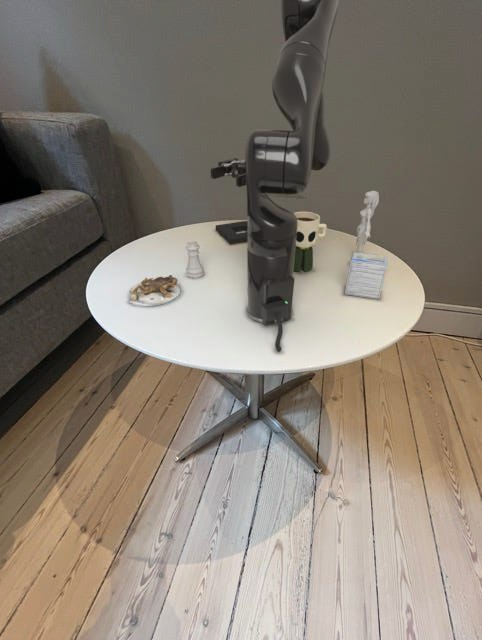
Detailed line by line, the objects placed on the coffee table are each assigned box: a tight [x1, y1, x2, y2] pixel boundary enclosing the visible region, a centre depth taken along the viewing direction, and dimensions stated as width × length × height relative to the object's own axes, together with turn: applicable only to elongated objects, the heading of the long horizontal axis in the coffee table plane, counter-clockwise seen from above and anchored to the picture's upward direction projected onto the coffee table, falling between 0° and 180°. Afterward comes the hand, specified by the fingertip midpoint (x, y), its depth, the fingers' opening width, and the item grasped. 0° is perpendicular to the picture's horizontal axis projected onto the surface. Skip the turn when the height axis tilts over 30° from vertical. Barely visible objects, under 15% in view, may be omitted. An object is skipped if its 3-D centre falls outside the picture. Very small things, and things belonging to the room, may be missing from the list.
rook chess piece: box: [185, 240, 205, 279], centre depth 93 cm, size 4×4×8 cm
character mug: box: [292, 211, 328, 273], centre depth 95 cm, size 11×7×13 cm, turn 94°
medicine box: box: [344, 251, 389, 300], centre depth 87 cm, size 8×4×9 cm, turn 74°
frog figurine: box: [128, 274, 182, 307], centre depth 87 cm, size 12×12×4 cm
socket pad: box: [215, 220, 248, 245], centre depth 115 cm, size 12×12×2 cm
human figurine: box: [349, 190, 380, 264], centre depth 96 cm, size 12×4×18 cm, turn 173°
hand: (224, 177), depth 88 cm, fingers open, 8 cm apart
